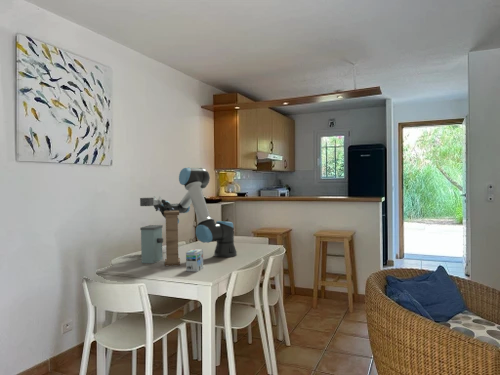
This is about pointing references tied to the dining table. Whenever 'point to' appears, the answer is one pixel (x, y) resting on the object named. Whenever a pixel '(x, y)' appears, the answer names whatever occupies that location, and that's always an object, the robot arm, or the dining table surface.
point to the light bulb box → (194, 260)
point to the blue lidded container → (151, 243)
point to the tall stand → (172, 238)
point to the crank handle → (149, 202)
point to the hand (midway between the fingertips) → (156, 198)
